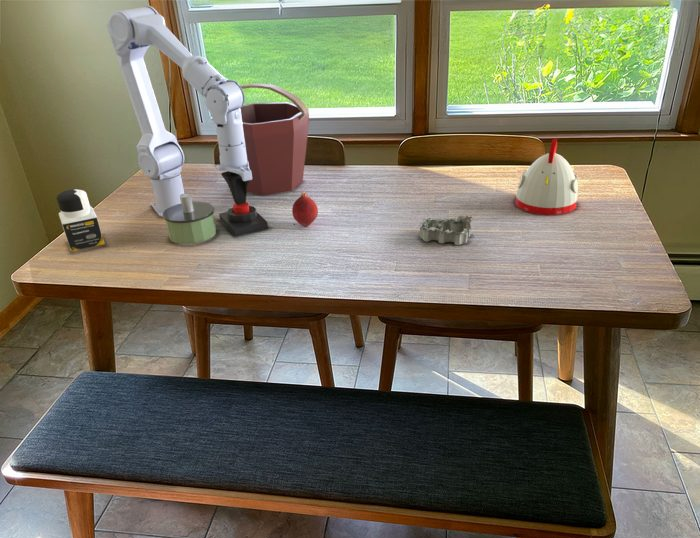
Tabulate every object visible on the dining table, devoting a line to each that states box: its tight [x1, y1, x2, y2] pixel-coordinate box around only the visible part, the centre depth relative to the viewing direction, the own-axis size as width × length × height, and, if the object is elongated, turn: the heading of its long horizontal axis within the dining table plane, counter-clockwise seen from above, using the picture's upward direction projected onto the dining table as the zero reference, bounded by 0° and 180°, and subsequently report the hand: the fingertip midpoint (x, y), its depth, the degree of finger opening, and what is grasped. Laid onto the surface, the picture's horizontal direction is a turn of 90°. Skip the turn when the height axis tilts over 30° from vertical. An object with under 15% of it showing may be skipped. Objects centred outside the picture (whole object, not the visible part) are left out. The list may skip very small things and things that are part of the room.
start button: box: [232, 201, 250, 214], centre depth 141 cm, size 4×4×2 cm
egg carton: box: [418, 215, 473, 246], centre depth 132 cm, size 11×8×4 cm
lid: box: [162, 192, 215, 223], centre depth 135 cm, size 11×11×5 cm
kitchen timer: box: [515, 138, 579, 216], centre depth 142 cm, size 14×14×15 cm
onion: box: [291, 191, 319, 228], centre depth 139 cm, size 6×6×8 cm
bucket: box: [239, 82, 310, 196], centre depth 159 cm, size 24×22×25 cm
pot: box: [164, 213, 217, 245], centre depth 137 cm, size 10×10×6 cm
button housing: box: [218, 205, 269, 237], centre depth 142 cm, size 11×8×4 cm
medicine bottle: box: [56, 188, 105, 252], centre depth 134 cm, size 7×7×12 cm
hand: (240, 203), depth 140 cm, fingers closed
